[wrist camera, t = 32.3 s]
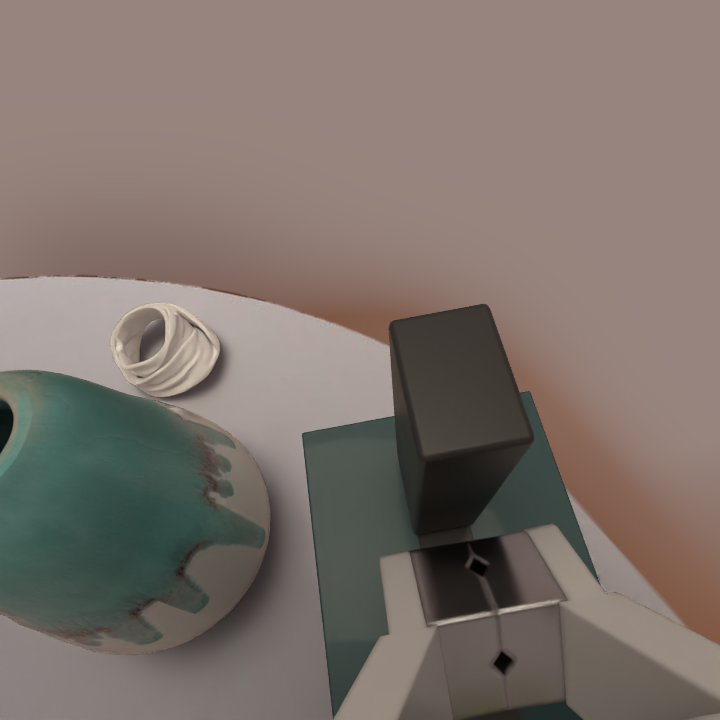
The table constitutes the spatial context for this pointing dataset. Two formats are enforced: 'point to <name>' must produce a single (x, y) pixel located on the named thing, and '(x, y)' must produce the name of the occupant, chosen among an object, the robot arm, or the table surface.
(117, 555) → the vase
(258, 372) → the table surface
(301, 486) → the table surface
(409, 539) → the teal box with lever
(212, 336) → the cream cowl scarf
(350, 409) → the table surface
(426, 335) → the slider
